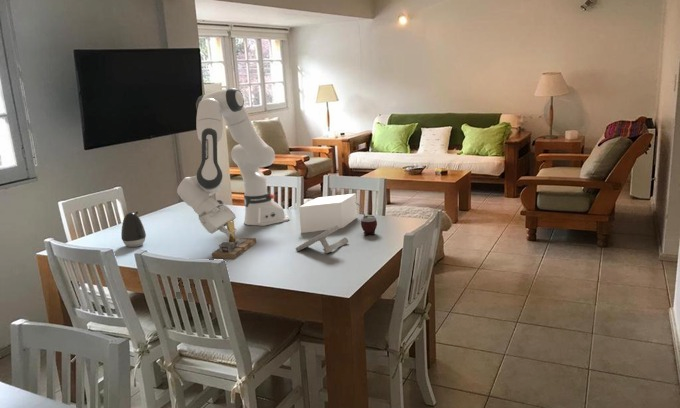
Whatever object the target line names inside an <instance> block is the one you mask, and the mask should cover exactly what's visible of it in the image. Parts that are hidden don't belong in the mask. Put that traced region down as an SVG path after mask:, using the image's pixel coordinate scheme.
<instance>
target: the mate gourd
mask: <svg viewBox="0 0 680 408" xmlns="http://www.w3.org/2000/svg"><path fill="white" fill-rule="evenodd" d="M355 203H356V205H357V206H359V208H360V209H361V212H362V214H363V215H362V218H361V221H360V225H361V228H362V230H363V234H364V235H363V236H364V237H367V236H376V233H375V232H376V229H377V226H378V221H377V217H375V216H374V215H371V214H370V215H366V214H365V211H364V209H363V207H362V206H361V204H360V203H358V202H357V201H356V202H355Z"/></svg>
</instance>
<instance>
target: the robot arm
mask: <svg viewBox="0 0 680 408" xmlns="http://www.w3.org/2000/svg"><path fill="white" fill-rule="evenodd" d="M244 103H245V98H244V95H243V93H242V92H241V91H240V90H239V89H238V88H236V87H228V88H226V89H225V88H223V89H218V90H215V91H212V92H209V93H206V94H202V95H200V96H198V98H197V100H196V102H195V108H196V127H195V128H196V134H197V138H198V140H199V141H200V143H201V162H200V164H199V167H198V169H197V171H196V175H194V176H186V177H184V178H182V179H181V181H180V182H179V184H177V188H176V192H177V195H178V196H179V197H180V198H181V200H182V201H183V202H184V203H185V204H186V205H187V206H189V207H190V208H192V209H193V211H194V212H195V214H197V216H198V220H199V222H200V223H201V225H202V226H203V228H204V229H205V230H206V231H207V232H208V233H210V234H212V235H213V234H214V233H216V232H218V231H219V232H221V233H223V234H225V235H226V236H227V237H228V236H229V235H231V234H232V232H231V231H230V230H228V229H227V221H235V219H236V218H237V217H236V213H234V212H233V211H232V210H231V208H229V207H228V206H227V205H225V202H224V201H223V200H222V199H214V198H213V197H212V196H213V195H215V194H217V192H219V191H220V190H221V188H222V184H223V170H221V167H220V165H219V162H218V144H219V142H220V141H221V139H222V136H223V129H224V128H223V127H224V125H223V124H224V123H223V119H224V122H225V124H226V126H227V128H228V131H229V134H230V136H231V138H232V139H233V140H234V141H235V142H236V143H237V144H235V145H234V146H233V148H231V151H230V157H231V159H232V161H233V163H234V164H235V165H236V166H237V167H238V170H239V172H240V174H241V177H242V181H243V190H244V195H243V201H244V206H245V215H244V220H243V224H244V225H248V226H260V227H265V226H268V225H273V224H279V223H284V222H287V221H288V222H289V220H290V216H289V215H287V214H285V211H284V207H283V206H282V205H280V204H279V203H277V202H276V201H275V200H273V199H274V198H275V194H272V193H269V192H268V186H267V178H266V176H265V174H264V173H262V171H261V169H260V168H265V167H269V166H271V165H272V164H273V163H274V162H275V160H276V152H275V150H274V149H273V147H272V146H269V144H267V143H266V142H265V141H264V140H263V139H262V138H261V136H260V135H259V134H258V132H257V131H256V129H255V127H254V125H253V123H252V121H251V119H250V118H251V117H250V115H249V114H248V111H247V109H246V108H245V106H244V105H245V104H244ZM236 231H237V228H236V227H235V232H236Z"/></svg>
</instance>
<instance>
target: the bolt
mask: <svg viewBox="0 0 680 408" xmlns="http://www.w3.org/2000/svg"><path fill="white" fill-rule="evenodd" d="M235 228H236V227H235V220H233V221H227V226H226V229H228V230H230V231H231V232H232V234H231V235H229V236H227V238H228V241H227V242H234V246H235V245H236V244H237V243H238V241H236V238H237V237H236V231H235ZM223 250H225V251H228V247H223Z"/></svg>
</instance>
